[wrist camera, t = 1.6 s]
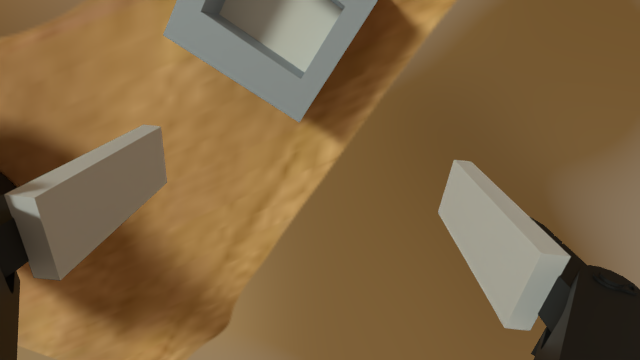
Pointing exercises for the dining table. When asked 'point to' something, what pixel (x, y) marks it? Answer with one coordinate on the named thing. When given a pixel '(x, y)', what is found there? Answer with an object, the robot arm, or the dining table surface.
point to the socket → (270, 43)
